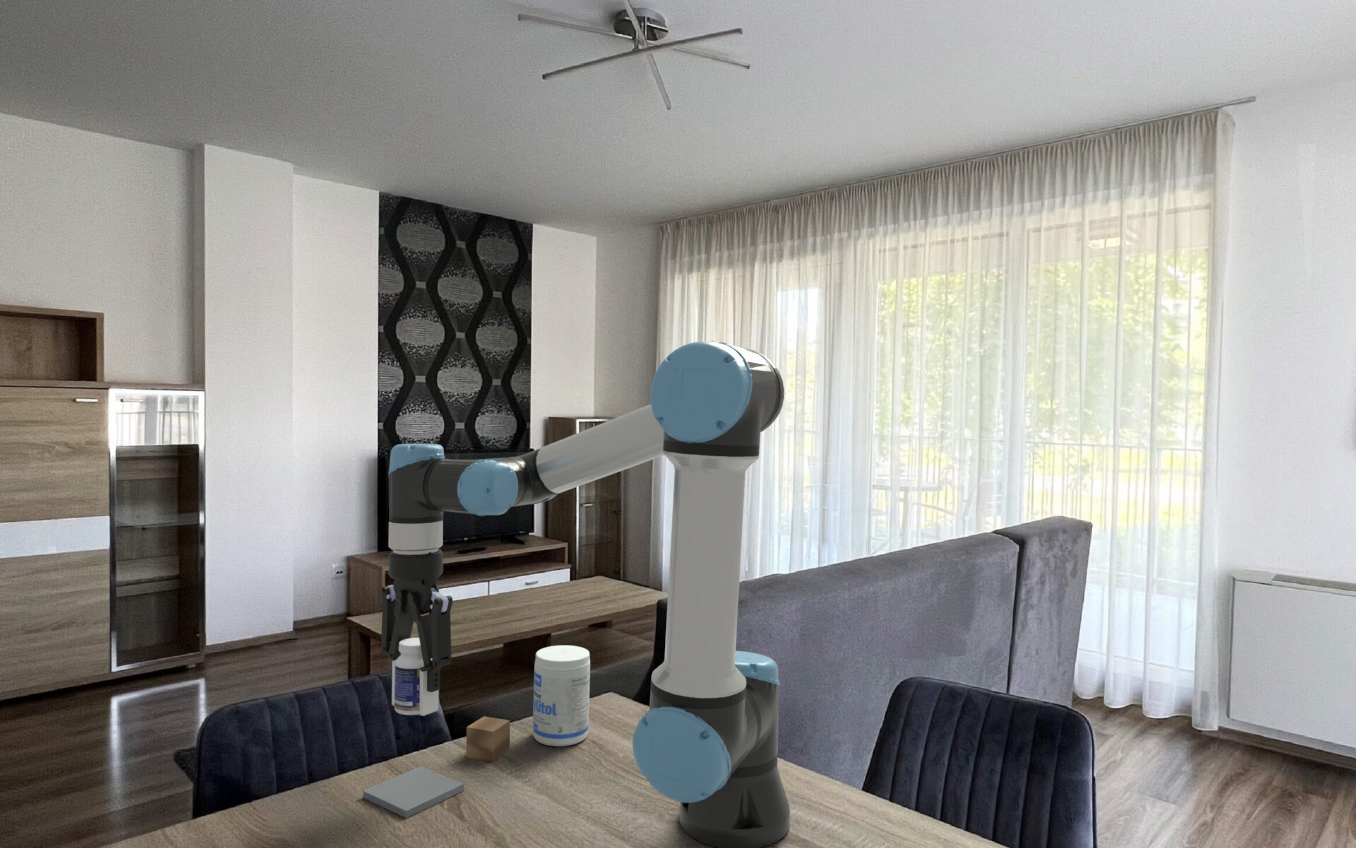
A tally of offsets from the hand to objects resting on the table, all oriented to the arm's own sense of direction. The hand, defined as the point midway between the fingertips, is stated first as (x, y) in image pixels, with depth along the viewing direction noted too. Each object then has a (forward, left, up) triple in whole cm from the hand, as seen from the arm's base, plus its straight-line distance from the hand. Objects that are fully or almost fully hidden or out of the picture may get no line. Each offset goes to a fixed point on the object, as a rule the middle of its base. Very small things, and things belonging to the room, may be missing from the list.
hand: (414, 707), depth 118 cm
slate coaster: (0, 0, -13) cm, 13 cm away
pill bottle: (0, 0, 0) cm, 0 cm away
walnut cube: (+2, -16, -13) cm, 21 cm away
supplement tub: (-3, -28, -13) cm, 31 cm away
